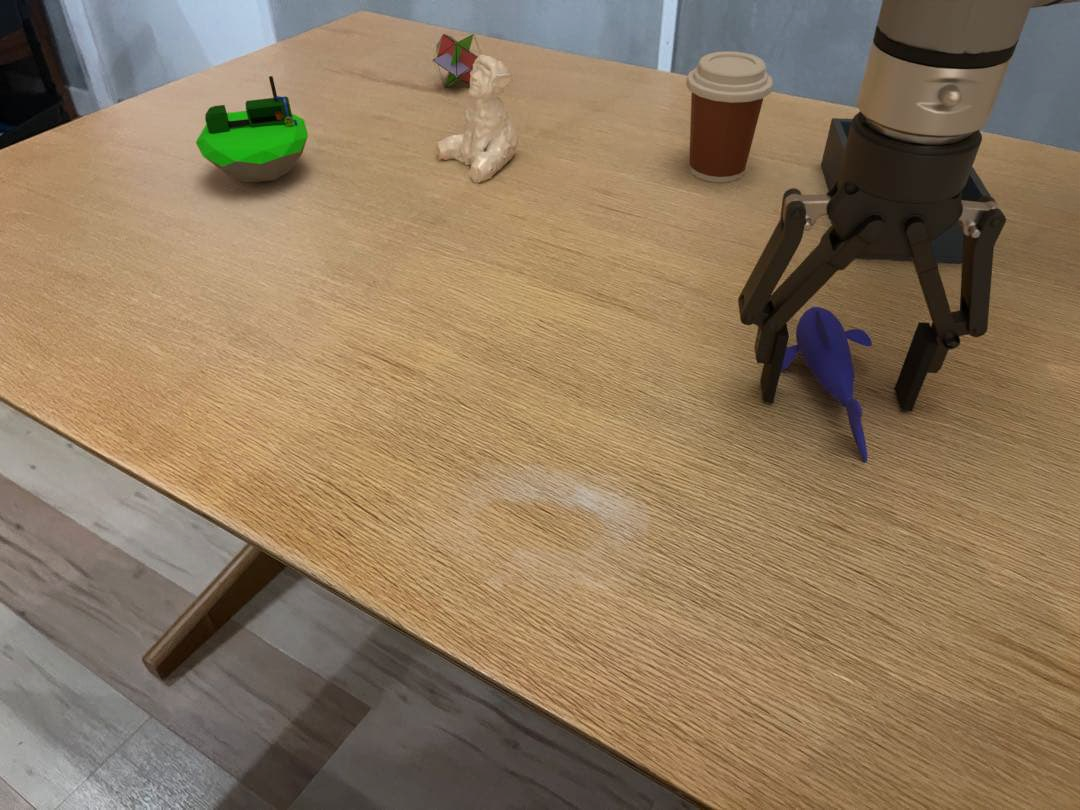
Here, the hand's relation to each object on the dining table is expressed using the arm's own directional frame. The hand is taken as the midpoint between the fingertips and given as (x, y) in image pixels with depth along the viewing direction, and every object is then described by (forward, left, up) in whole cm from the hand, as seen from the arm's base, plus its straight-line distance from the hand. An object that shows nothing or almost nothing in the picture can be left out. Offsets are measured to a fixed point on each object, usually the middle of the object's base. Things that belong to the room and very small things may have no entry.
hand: (834, 395), depth 65 cm
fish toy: (0, 0, 0) cm, 0 cm away
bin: (-11, -31, 0) cm, 33 cm away
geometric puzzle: (+41, -62, 0) cm, 74 cm away
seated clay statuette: (+34, -39, 0) cm, 52 cm away
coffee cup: (+7, -39, 0) cm, 40 cm away
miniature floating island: (+59, -33, 0) cm, 68 cm away
